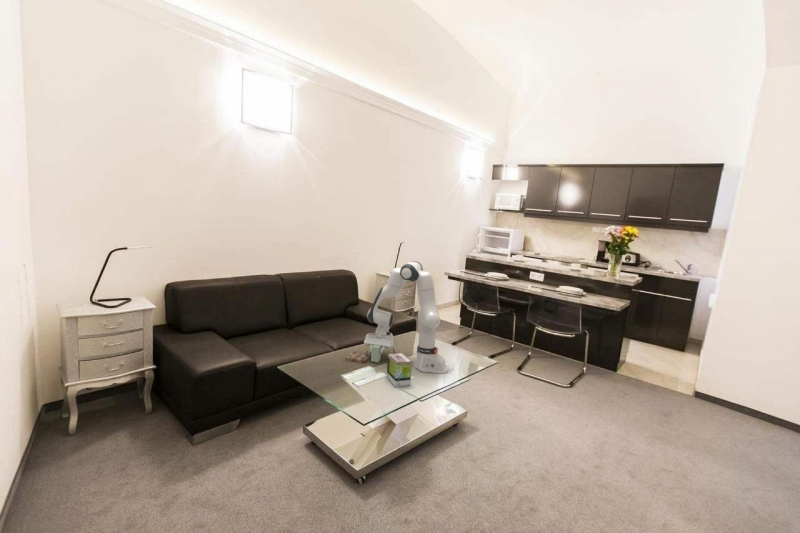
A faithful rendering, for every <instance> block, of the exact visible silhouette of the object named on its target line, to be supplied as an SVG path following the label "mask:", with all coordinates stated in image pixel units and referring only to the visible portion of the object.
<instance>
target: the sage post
mask: <svg viewBox="0 0 800 533" xmlns="http://www.w3.org/2000/svg"><path fill="white" fill-rule="evenodd" d="M370 350H371V349H370ZM380 350H382V348H381V346H378V345H373V346H372V350H371V352H370V353H371V354H370V355H371V359H370V362H372V363H379V362H380V361H381V357H382V354H380V353H379V351H380Z"/></svg>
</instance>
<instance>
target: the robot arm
mask: <svg viewBox="0 0 800 533" xmlns="http://www.w3.org/2000/svg"><path fill="white" fill-rule="evenodd" d="M423 270H424V269H423V265H422V264H421V263H420V262H419V261H416V260H415V261H409V262H407V263H405V264H403V265H402V266H401V268H400V267H394V268H393V269H391V271H390V274H389V277H388V279H387V282H386V284H385V286H383V287H381V288H380V289H379V291H378V292H377V295H376V296H375V298H374V301H373V303H372V305H371V307H370V308H369V309H368V312H367V315H366V319H367V321H368V322H369V323H373V324H377V327H376V328H375V332H372V333H371V332H369V333H367V334H366V335H365V337H364V341H363V344H364V345H365V346H367V347H370V353H371V350H372V346H373V345H378V346H381V350H380V351H379V353H380V354H381V355H382V354H383V352H384V351H385V350H386V349H389V350H392V349H393V348H394V335H393V333H392V332H390V328H391V327H393V324H394V321H395V316H394V314H393V313H392V312H389V311H387V310H386V311H385V310H383V309H379V308H378V307H379V305H380V303H381V301H382V300H383V299H385V298H395V297H397V296H399V295H400V294H401V293H402V291H403V288H404V285H405V282H406V281H407V282H412V283H414V282H415V284H416V290H417V291H416V292H417V300H418V304H419V310H418V311H417V318H418V322H417V323H418V324H417V325H418V341H417V342H418V343H417V344H418V345H417V348H416V358H415V362H414V364H413V366H414V368H415V369H417V370H419V371H420V372H423V373H431V374H432V373H433V374H442V375H443V374H446V373H448V371H449V366H448V365H446V361H445V358H444V357H443V356H442V355H441V354H440V353H439V352H438V350H439V347H436V328H438V327H439V326H440V324H441V317H440V315H439V314H440V313H439V309H438V304H437V302H436V295H435V294H436V292H435V286H434V281H433V276H432V274H431V272H429V271H423Z"/></svg>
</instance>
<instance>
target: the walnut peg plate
mask: <svg viewBox="0 0 800 533" xmlns="http://www.w3.org/2000/svg"><path fill="white" fill-rule="evenodd" d="M357 350H358V349H357V348H354V351H352V352H349V354H348V355H347V356H345V359H344V360H345V361H346V362H347V361H349V362H353V363H358V364H359V363H360V364H366V363H367V362H369V361H370V360H371V359H370V358H371V354H369V351H368V350H366V351H365V353H361V352H357ZM369 359H370V360H369Z"/></svg>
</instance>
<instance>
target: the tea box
mask: <svg viewBox="0 0 800 533" xmlns="http://www.w3.org/2000/svg"><path fill="white" fill-rule="evenodd" d="M412 368H413V361H412V360H411V359H410V358H409V357H408V356H407V355H405V354H404V353H402V352H401V353H398V352H397V353H388V354H387V364H386V378H387V379H388V381H389V382H390V383H391V384H392V385H393V386H394V387H396V388H398V387H399V388H400V387H407V386H411V378H412Z"/></svg>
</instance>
